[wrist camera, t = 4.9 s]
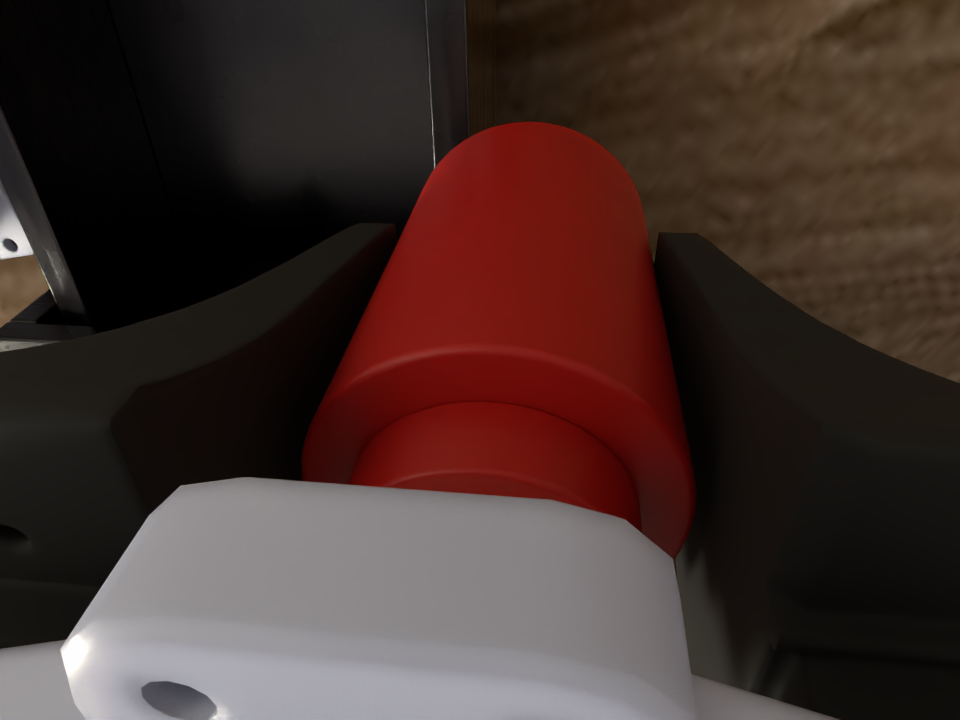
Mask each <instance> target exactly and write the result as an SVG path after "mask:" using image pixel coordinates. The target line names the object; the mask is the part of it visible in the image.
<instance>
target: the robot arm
mask: <svg viewBox="0 0 960 720" xmlns="http://www.w3.org/2000/svg"><path fill="white" fill-rule="evenodd" d="M11 240H13V241H14V242H15V243H16V244H17V245H15V244H14V243H13V242H12V241H11ZM396 244H397V239H396V229H395V224H386V223H358V224H355V225H353V226H351V227H348V228H346V229H344V230H342V231H341V232H339V233H337V234H335V235H333V236H331V237H330V238H328V239H326V240H324V241H323V242H321V243H319V244H317V245H316V246H314V247H312V248H310V249H309V250H307V251H305V252H303V253H302V254H300V255H298V256H296V257H294V258H293V259H291V260H289V261H287V262H286V263H284V264H282V265H280V266H278V267H276V268H274V269H272V270H270V271H268V272H266V273H264V274H262V275H260V276H258V277H256V278H254V279H252V280H250V281H248V282H246V283H244V284H242V285H240V286H238V287H236V288H233V289H231V290H229V291H227V292H224V293H222V294H220V295H217V296H215V297H212V298H210V299H207V300H204V301H202V302H199V303H197V304H194V305H192V306H189V307H186V308H183V309H180V310H178V311H174V312H171V313H168V314H165V315H161V316H158V317H155V318H151V319H148V320H145V321H142V322H138V323H135V324H132V325H128V326H125V327H122V328H118V329H114V330H110V331H106V332H102V333H97V334H93V335H89V336H85V337H80V338H75V339H71V340H66V341H61V342H56V343H51V344H46V345H41V346H35V347H30V348H23V349H17V350H10V351H3V352H0V720H960V383H957V382H954V381H952V380H949V379H946V378H943V377H941V376H938V375H935V374H933V373H930V372H927V371H925V370H922V369H919V368H917V367H915V366H912V365H910V364H908V363H905V362H903V361H900V360H898V359H896V358H893V357H891V356H889V355H886V354H884V353H881V352H879V351H877V350H875V349H873V348H871V347H868V346H866V345H864V344H862V343H860V342H858V341H856V340H854V339H852V338H850V337H848V336H846V335H845V334H843V333H841V332H839V331H837V330H835V329H833V328H831V327H830V326H828V325H826V324H824V323H822V322H820V321H819V320H817V319H815V318H814V317H812V316H810V315H809V314H807V313H805V312H804V311H802V310H801V309H799V308H798V307H796V306H795V305H793V304H792V303H790V302H789V301H787V300H785V299H784V298H782V297H781V296H779V295H778V294H777V293H775V292H774V291H772V290H771V289H770V288H768V287H767V286H765V285H764V284H763V283H761V282H760V281H759V280H757V279H756V278H755V277H753V276H752V275H751V274H749V273H748V272H747V271H746V270H744V269H743V268H742V267H740V266H739V265H738V264H737V263H735V262H734V261H733V260H732V259H730V258H729V257H728V256H727V255H726V254H724V253H723V252H722V251H721V250H719V249H718V248H717V247H716V246H714V245H713V244H712V243H711V242H709V241H708V240H707V239H705V238H704V237H702V236H701V235H699V234H697V233H667V232H659V235H658V242H657V249H656V255H655V262H654V269H655V274H656V279H657V284H658V289H659V295H660V300H661V305H662V310H663V315H664V320H665V325H666V330H667V336H668V341H669V346H670V351H671V356H672V361H673V366H674V371H675V376H676V382H677V387H678V392H679V397H680V402H681V407H682V412H683V417H684V423H685V428H686V433H687V438H688V443H689V448H690V453H691V458H692V463H693V469H694V474H695V482H696V490H697V499H696V512H695V516H694V519H693V523H692V527H691V530H690V533H689V535H688V537H687V539H686V541H685V543H684V545H683V547H682V549H681V551H680V552H679V554H678V555H677V556H676V570H677V578H676V573H675V568H674V563H673V558H672V557H670V556H669V555H668V554H667V553H665V552H664V551H663V550H662V549H661V548H659V547H658V546H657V545H656V544H654V543H653V542H652V541H651V540H650V539H648V538H647V537H646V536H645V535H644V534H642V533H641V532H640V531H639V530H637V529H636V528H635V527H634V526H633V525H631V524H630V523H629V522H628V521H627V520H625V519H622V518H619V517H617V516H613V515H609V514H605V513H602V512H598V511H594V510H590V509H586V508H582V507H579V506H575V505H571V504H567V503H563V502H559V501H556V500H551V499H537V498H524V497H511V496H497V495H484V494H470V493H457V492H443V491H430V490H416V489H403V488H390V487H376V486H363V485H349V484H336V483H322V482H309V481H302V470H301V458H302V451H303V444H304V441H305V438H306V435H307V432H308V429H309V426H310V424H311V422H312V420H313V418H314V416H315V413H316V411H317V409H318V407H319V405H320V403H321V401H322V399H323V397H324V395H325V393H326V390H327V388H328V386H329V384H330V382H331V380H332V378H333V376H334V374H335V372H336V370H337V368H338V365H339V363H340V361H341V359H342V357H343V355H344V353H345V351H346V349H347V347H348V345H349V342H350V340H351V338H352V336H353V334H354V332H355V330H356V328H357V326H358V324H359V322H360V320H361V317H362V315H363V313H364V311H365V309H366V307H367V305H368V303H369V301H370V299H371V297H372V294H373V292H374V290H375V288H376V286H377V284H378V282H379V280H380V278H381V276H382V274H383V271H384V269H385V267H386V265H387V263H388V261H389V259H390V257H391V255H392V253H393V251H394V249H395V246H396ZM32 254H34V253H33V251H32V248H31V246H30V244H29V242H28V240H27V237H26V235H25V233H24V231H23V229H22V226H21V224H20V222H19V220H18V217H17V215H16V213H15V211H14V209H13V206H12V204H11V202H10V200H9V198H8V195H7V193H6V191H5V189H4V186H3V184H2V182H1V180H0V259H7V258H14V257H21V256H28V255H32Z"/></svg>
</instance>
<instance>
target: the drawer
mask: <svg viewBox="0 0 960 720" xmlns="http://www.w3.org/2000/svg"><path fill="white" fill-rule="evenodd" d="M495 126H496V0H0V180H1V182H2V184H3V186H4V189H5V191H6V193H7V195H8V198H9V200H10V202H11V204H12V206H13V209H14V211H15V213H16V215H17V217H18V220H19V222H20V224H21V226H22V229H23V231H24V233H25V235H26V237H27V240H28V242H29V244H30V246H31V248H32V251H33V253H34V255H35V257H36V260H37V262H38V264H39V266H40V268H41V271H42V273H43V275H44V277H45V279H46V282H47V284H48V286H49V288H50V291H51V293H52V295H53V297H54V299H55V302H56V304H57V306H58V308H59V310H60V313H61V315H62V317H63V319H64V322H65V324H66V325H77V326H97V327H117V328H122V327H125V326H128V325H132V324H135V323H138V322H142V321H145V320H148V319H151V318H155V317H158V316H161V315H165V314H168V313H171V312H174V311H178V310H180V309H183V308H186V307H189V306H192V305H194V304H197V303H199V302H202V301H204V300H207V299H210V298H212V297H215V296H217V295H220V294H222V293H224V292H227V291H229V290H231V289H233V288H236V287H238V286H240V285H242V284H244V283H246V282H248V281H250V280H252V279H254V278H256V277H258V276H260V275H262V274H264V273H266V272H268V271H270V270H272V269H274V268H276V267H278V266H280V265H282V264H284V263H286V262H287V261H289V260H291V259H293V258H294V257H296V256H298V255H300V254H302V253H303V252H305V251H307V250H309V249H310V248H312V247H314V246H316V245H317V244H319V243H321V242H323V241H324V240H326V239H328V238H330V237H331V236H333V235H335V234H337V233H339V232H341V231H342V230H344V229H346V228H348V227H351V226H353V225H355V224H358V223H386V224H395V229H396V239H397V242H398V240H399V238H400V236H401V234H402V232H403V230H404V228H405V226H406V223H407V221H408V219H409V217H410V215H411V213H412V211H413V209H414V207H415V205H416V203H417V201H418V198H419V196H420V194H421V192H422V190H423V188H424V186H425V184H426V182H427V180H428V179H429V177H430V175H431V173H432V172H433V170H434V169H435V168H436V166H437V165H438V164H439V162H440V161H441V160H442V159H443V158H444V157H445V156H446V155H447V154H448V153H449V152H450V151H451V150H452V149H453V148H455V147H456V146H457V145H459V144H460V143H461V142H463V141H464V140H466V139H468V138H469V137H471V136H473V135H475V134H477V133H479V132H481V131H484V130H486V129H489V128H492V127H495Z"/></svg>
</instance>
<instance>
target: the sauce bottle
mask: <svg viewBox="0 0 960 720" xmlns="http://www.w3.org/2000/svg"><path fill="white" fill-rule="evenodd" d="M301 470H302V481H309V482H322V483H336V484H349V485H363V486H376V487H390V488H403V489H416V490H430V491H443V492H457V493H470V494H484V495H497V496H511V497H524V498H537V499H551V500H556V501H559V502H563V503H567V504H571V505H575V506H579V507H582V508H586V509H590V510H594V511H598V512H602V513H605V514H609V515H613V516H617V517H619V518H622V519H625V520H627V521H628V522H629V523H630V524H631V525H633V526H634V527H635V528H636V529H637V530H639V531H640V532H641V533H642V534H644V535H645V536H646V537H647V538H648V539H650V540H651V541H652V542H653V543H654V544H656V545H657V546H658V547H659V548H661V549H662V550H663V551H664V552H665V553H667V554H668V555H669V556H670V557H672V558H673V561H674V559H675V558H676V556H677V555H678V554H679V552H680V551H681V549H682V547H683V545H684V543H685V541H686V539H687V537H688V535H689V533H690V530H691V527H692V523H693V519H694V516H695V512H696V499H697V490H696V482H695V474H694V469H693V463H692V458H691V453H690V448H689V443H688V438H687V433H686V428H685V423H684V417H683V412H682V407H681V402H680V397H679V392H678V387H677V382H676V376H675V371H674V366H673V361H672V356H671V351H670V346H669V341H668V336H667V330H666V325H665V320H664V315H663V310H662V305H661V300H660V295H659V289H658V284H657V279H656V274H655V269H654V264H653V259H652V254H651V249H650V243H649V238H648V233H647V228H646V223H645V218H644V213H643V208H642V204H641V201H640V197H639V194H638V192H637V189H636V187H635V185H634V183H633V181H632V179H631V177H630V176H629V174H628V173H627V171H626V170H625V168H624V167H623V166H622V165H621V163H620V162H619V161H618V160H617V159H616V158H615V157H614V155H612V154H611V153H610V152H609V151H608V150H607V149H605V148H604V147H603V146H602V145H600V144H599V143H597V142H596V141H594V140H593V139H591V138H589V137H588V136H586V135H584V134H581V133H579V132H577V131H575V130H572V129H569V128H566V127H563V126H559V125H555V124H549V123H543V122H517V123H508V124H504V125H499V126H495V127H492V128H489V129H486V130H484V131H481V132H479V133H477V134H475V135H473V136H471V137H469V138H468V139H466V140H464V141H463V142H461V143H460V144H459V145H457V146H456V147H455V148H453V149H452V150H451V151H450V152H449V153H448V154H447V155H446V156H445V157H444V158H443V159H442V160H441V161H440V162H439V164H438V165H437V166H436V168H435V169H434V170H433V172H432V173H431V175H430V177H429V179H428V180H427V182H426V184H425V186H424V188H423V190H422V192H421V194H420V196H419V198H418V201H417V203H416V205H415V207H414V209H413V211H412V213H411V215H410V217H409V219H408V221H407V223H406V226H405V228H404V230H403V232H402V234H401V236H400V238H399V240H398V242H397V244H396V246H395V249H394V251H393V253H392V255H391V257H390V259H389V261H388V263H387V265H386V267H385V269H384V271H383V274H382V276H381V278H380V280H379V282H378V284H377V286H376V288H375V290H374V292H373V294H372V297H371V299H370V301H369V303H368V305H367V307H366V309H365V311H364V313H363V315H362V317H361V320H360V322H359V324H358V326H357V328H356V330H355V332H354V334H353V336H352V338H351V340H350V342H349V345H348V347H347V349H346V351H345V353H344V355H343V357H342V359H341V361H340V363H339V365H338V368H337V370H336V372H335V374H334V376H333V378H332V380H331V382H330V384H329V386H328V388H327V390H326V393H325V395H324V397H323V399H322V401H321V403H320V405H319V407H318V409H317V411H316V413H315V416H314V418H313V420H312V422H311V424H310V426H309V429H308V432H307V435H306V438H305V441H304V444H303V451H302V458H301Z"/></svg>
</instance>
